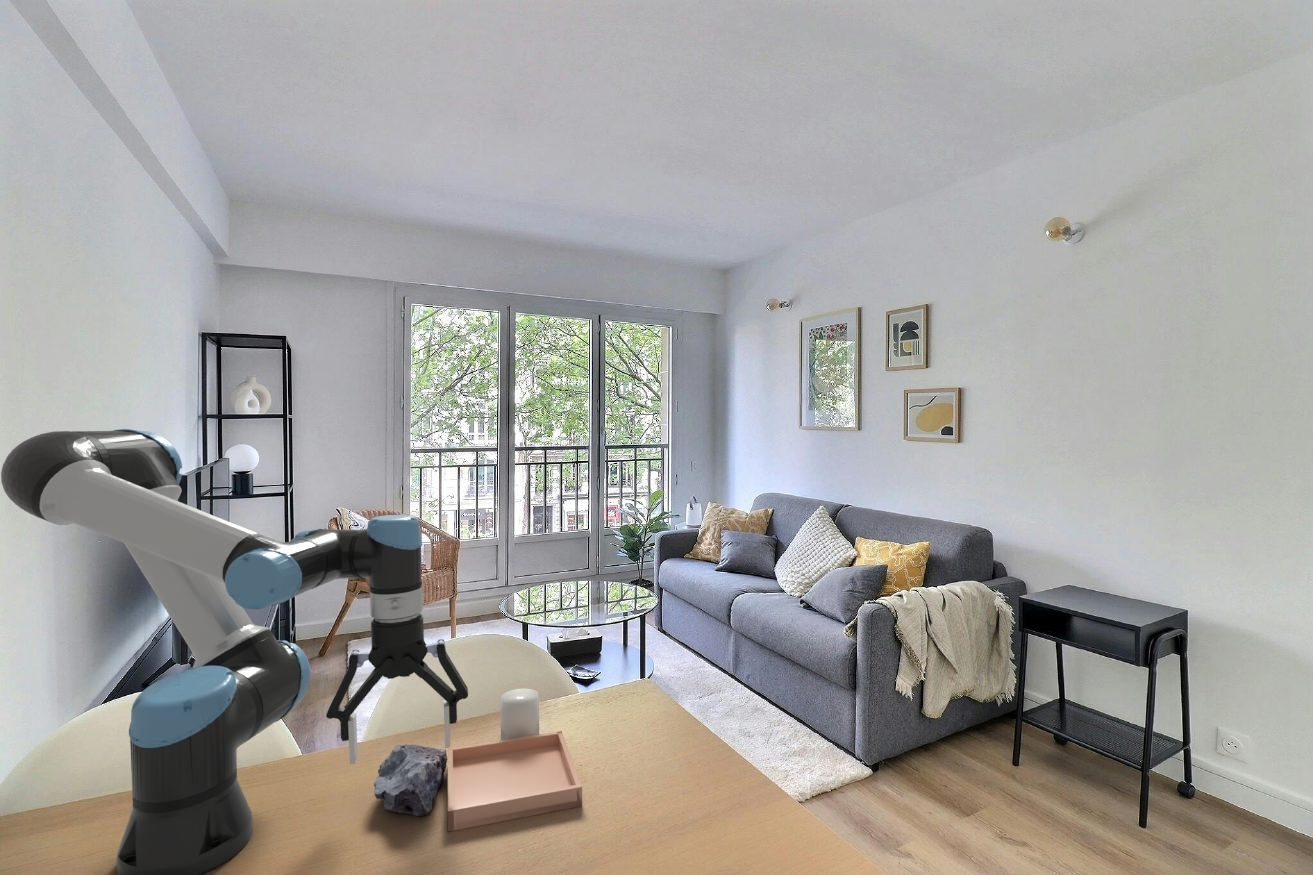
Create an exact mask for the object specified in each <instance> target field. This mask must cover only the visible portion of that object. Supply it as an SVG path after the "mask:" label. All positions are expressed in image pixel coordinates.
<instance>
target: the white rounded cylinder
mask: <svg viewBox="0 0 1313 875" xmlns="http://www.w3.org/2000/svg"><path fill="white" fill-rule="evenodd" d="M499 701H500V740H507V739H513V738H520V737H526V736H533V735H539V734H540V694H539V692H538V691H537V690H535V689H532V688H531V689H530V688H516V689H511V690H508V691H506V692H504V693H502V694H501V696H500V700H499Z"/></svg>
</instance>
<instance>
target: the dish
mask: <svg viewBox="0 0 1313 875" xmlns="http://www.w3.org/2000/svg"><path fill="white" fill-rule="evenodd" d="M579 807H583V785H582V782H581V780H580V776H579V774H578V771H577V769H576V767H575V764H574V761H573V759H572V756H571V752H570V750H569V747H568V745H567V742H566V740H565V737H564V733H563V732H562V730H560V731H554V732H553V731H552V732H548V733H541V734H540V733H539V735H533V736H526V737H520V738H513V739H507V740H501V739H500V740H496V741H495V740H494V741H488V742H483V743H476V744H467V745H463V746H461V745H460V746H456V747H449V748H447V832H455V831H459V830H463V829H469V828H474V827H479V826H484V825H490V824H497V823H500V822H505V821H512V820H516V819H517V820H518V819H521V818H526V817H532V816H536V815H537V816H538V815H543V814H549V813H553V812H559V811H562V810H569V809H573V808H579Z"/></svg>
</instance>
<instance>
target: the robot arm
mask: <svg viewBox="0 0 1313 875" xmlns="http://www.w3.org/2000/svg"><path fill="white" fill-rule="evenodd" d="M182 468H183V462H182V459H181V456H180V454H179V453H178V451H177V449H176V448H175V446H173V445H172V442H171V443H170V441H168V439H166V438H165V437H163V436H161V435H159V434H156V433H153V432H150V431H145V430H135V429H128V428H126V429H125V428H123V429H114V430H83V431H81V430H80V431H77V430H75V431H74V430H73V431H69V430H63V431H61V430H60V431H54V430H53V431H49V432H45V433H39V434H37V435H34V436H31V437H30V438H28V439H26V440H24V441H22V442H21V443H19V444H18V445H17V446H15V447H14V448H13V449H12V450H11V451H10V452H9V453H8V455H7V456H6V458H5V460H4V462H3V464H2V467H1V472H0V478H1V486H2V488H3V491H4V493H5V494H6V495H7V498H9V500H10V501H11V502H12V503H14V504H15V505H16V506H17V507H18V508H19V509H21V510H23V511H24V512H26V513H28V514H30V515H32V516H34V517H36V518H39V519H41V520H44V521H46V522H49V523H51V524H55V525H58V526H68V525H73V524H76V525H78V526H80V527H83V528H86V529H88V530H91V531H94V532H96V533H98V534H101V535H103V536H106V537H108V538H111V539H113V540H115V541H118V542H121V543H123V544H124V545H125V547H126V549H127V550H128V551H129V554H130V555H131V556H132V558H133V561H134V562H135V563H136V565H137V566H138V568H139V569H140V571H141V573H142V574H143V576H144V578H145V579H146V580H147V582H148V584H149V585H150V587H151V588H152V590H153V592H154V593H155V595H156V597H157V598H158V600H159V602H160V603H161V604H162V606H163V607H164V610H165V611H166V613H167V614H168V616H169V617H170V619H171V621H172V622H173V624H174V625H175V627H176V629H177V630H178V632H179V633H180V635H181V638H183V639H184V642H185V643H186V645H187V646H188V648H189V649H190V651H191V653H192V654H193V656H194V658H195V660H194V663H193V665H192V668H188V669H186V670H184V671H182V672H175V673H172V674H169V675H167V676H165V677H163V678H161V679H159V680H157V681H155V682H154V683H152V684H150V685H149V686H147V687H146V688H145V689H143V691H142V692H140V694H138V696H137V697H136V698H135V699H134V702H133V703H132V706H131V709H130V710H131V711H130V712H131V713H130V714H131V716H130V723H129V728H128V737H129V741H130V742H129V743H130V744H129V746H130V765H131V766H130V767H131V768H130V770H131V793H132V808H131V813H130V816H129V819H128V822H127V825H126V827H125V831H124V832H123V836H122V839H121V842H120V844H119V847H118V849H117V854H116V875H203V874H206V873H207V872H210V871H212V870H213V869H215V868H217V867H219V866H221V865H222V864H224V863H226V862H227V861H228V860H230V859H231V858H233V857H234V856H235V855H237V854H238V853H239V852H240V851H242V849H243V848H244V847H245V846H246V845H247V843H249V841H250V839H251V837H252V834H253V828H254V827H253V814H252V813H253V812H252V809H251V807H250V806H249V803H248V801H247V799H246V796H245V794H244V792H243V790H242V788H241V785H240V783H239V781H238V765H237V764H238V762H237V760H238V758H237V752H238V748H239V747H241V746H242V745H243V744H245V743H246V742H248V741H250V740H251V739H253V738H254V737H255V736H256V735H258V734H260V733H261V732H263V731H264V730H265V729H268V728H269V727H270V726H272V725H273V724H274V723H276V722H278V721H281V719H282V718H284V717H287V715H289V713H290V712H291V711H292V710H293V709H295V708H296V707H297V706H298V705H299V704H300V703H301V701H302V700H303V699H304V698H305V696H306V694H307V692H308V691H309V684H310V682H311V672H312V671H311V666H310V662H309V659H308V657H307V655H306V653H305V652H304V650H303V649H301V647H300V646H298V645H297V644H296V643H294V642H289V641H287V640H285V639H284V640H283V639H282V640H281V639H280V640H277V638H276V637H275V635H274V634H273V632H272V630H271V629H270V628H269V627H268V626H262V625H256V624H254V623H253V621H252V620H251V618H250V616H249V615H248V613H247V611H246V610H245V609H247V610H262V609H265V608H267V607H272V606H277V605H279V604H281V603H285V602H287V601H289V600H290V599H293V598H294V597H297V596H299V595H301V594H304V593H305V592H306V593H307V592H308V591H310V590H313V589H316V588H318V587H321V586H323V585H325V584H327V583H329V582H333V581H335V580H339V579H340V580H341V579H360V580H361V579H368V582H369V598H370V600H369V603H370V604H369V605H370V607H369V608H370V609H369V610H370V617H371V618H373V619H372V621H371V622H370V634H371V635H370V636H371V649H370V650H369V651H360V650H359V649H357V648H356V649H353V650H352V651H351V652H350V655H349V658H348V665H347V670H346V672H345V674H344V676H343V678H342V680H341V682H340V684H339V687H338V688H337V691H336V692H335V694H334V696H333V699H332V701H331V703H330V704H329V705H330V706H329V707H328V710H327V712H326V718H327V719H328V720H331V719H337V720H338V721H339V722H340V723H339V724H340V740H341V741H342V742H346V741H348V751H349V752H348V754H349V755H348V756H349V765H353V764H356V762H357V758H358V756H359V755H358V732H357V731H358V730H357V729H358V726H357V724H358V723H357V713H356V712H355V711H356V709H357V708H358V707H359V706H360V704H362V702H363V700H364V699H365V698H366V697H367V696H368V695H369V693H370V692H371V690H373V688H374V687H375V686H376V685H377V683H378V682H379V681H380V680H381V678H383V677H384V678H387V679H388V680H392V679H395V678H398V677H403V678H405V677H410V675H413V674H415V675H416V676H417V677H419V679H421V680H423V681H424V682H425V683H426V684H427V685H428V686H430V688H432V690H434V691H435V692H436V693H437V694H438V695H440V697H441V698H442V699H444V700H443V722H444V726H443V727H444V748H445V749H448V748H451V727H450V726H451V725H452V724H453V725H454V724H457V721H458V713H457V712H458V711H457V710H458V708H457V704H458V702H459V701H461V700H466V699H467V698H468V697H469V689H468V686H467V684H466V683H465V681H464V679H463V678H462V676H461V674H460V673H459V671H458V670H457V668H456V665H455V664H454V663H453V660H452V659H451V657H450V655H449V654H448V653H447V649H446V648H447V647H446V642H445V640H444V639H443V638H440V639H438V640H437V642H432V643H429V644H427V643H426V641H425V632H424V630H425V629H424V628H425V627H424V615H423V614H422V613H421V612H423V610H424V600H423V599H424V595H423V591H424V590H423V582H422V581H423V580H422V547H423V546H422V545H423V542H422V537H421V528H420V521H419V519H418V518H417V517H416V516H414V515H411V514H392V515H391V514H387V515H379V516H375V517H372V518H370V519H369V520H368V522H367V528H365V529H327V528H318V529H311V530H302V531H299V532H297V534H295V536H294V537H293V538H292V539H290V541H283V542H282V541H280V540H279V541H278V540H276V539H273V538H272V537H271V538H270V537H268V536H266V535H262V534H261V533H260V534H259V533H257V532H256V531H253V530H250V529H247V528H245V527H244V526H240V525H238V524H235V523H234V522H230V521H228V520H225V519H224V518H220V517H218V516H215V515H212V514H210V513H208V512H205V511H203V510H200V509H198V508H195V507H194V506H191V505H188V504H186V503H183V502H180V501H178V500H179V498H180V496H181V493H182V488H181V486H180V484H179V483H180V482H181V479H182V476H183V473H182V472H181V469H182ZM428 653H430V654H431V655H432V657H433V658H437V659H438V662H439V663H440V665H441V667H442V669H443V670H444V673H445V674H446V676H447V677H448V679H449V680H450V682H451V684H452V686H453V687H454V689H455V690H454V689H452V688H451V686H449V685H448V684H447V683H446V682H445V681H444V680H443V678H441V677H440V676H439V675H438V674H437V673H436V672H434V671H433V669H431V668H430V667H429V666H428V664H427V663H426V661H424V659H425V657H426V656H427V654H428ZM367 661H369V663H370V664H371V665H372V666H373V668H374V669H373V670H372V671H371V673H370V674H369V675H368V677H367V678H366V680H364V682H362V684H361V686H360V687H358V689H357V690H356V691H355V693H354V694H353V695H352V697H351V698H350V699H349V700H348V702H347V703H346V704H345V705H344V706H341V704H342V703H343V700H344V698H345V696H346V693H347V692H348V689H349V688H350V685H351V684H352V681H353V680H354V677H355V675H356V673H357V670H358V668H361V667H363V665H364V663H365V662H367ZM354 712H355V713H354Z"/></svg>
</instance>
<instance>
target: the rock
mask: <svg viewBox="0 0 1313 875" xmlns="http://www.w3.org/2000/svg"><path fill="white" fill-rule="evenodd" d="M447 764H448V753H447V750H446V748H445V749H444V748H440V749H438V748H435V747H429V746H423V745H419V744H396V745H395V746H394V748H393V749H392V750H391V752H390V754H388V756H387V757H385V759H384V760H383V761H382V762H381V763H380V765H379V769H378V770H377V773H378V776H377V777H376V779H375V780H374V782H373V786H374V790H373V794H374V797H375V799H377V800H383V808H384V809H385V810H389V811H391V812H394V813H395V812H396V813H397V812H398V813H399V814H408V815H413V816H415V817H421V816H426V815H428V814H429V813H430V812H432V810H433V809H432V808H433V802H434V801H435V800H436V799H435V798H436V796H437V791H438V789H439V787H440V786H441V784H442V782H443V778H444V775H445V772H446V769H447Z"/></svg>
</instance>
